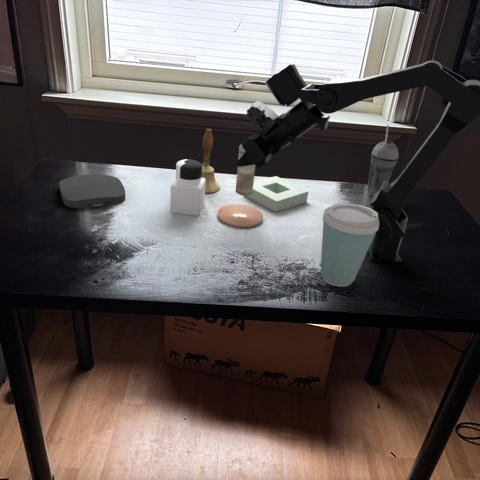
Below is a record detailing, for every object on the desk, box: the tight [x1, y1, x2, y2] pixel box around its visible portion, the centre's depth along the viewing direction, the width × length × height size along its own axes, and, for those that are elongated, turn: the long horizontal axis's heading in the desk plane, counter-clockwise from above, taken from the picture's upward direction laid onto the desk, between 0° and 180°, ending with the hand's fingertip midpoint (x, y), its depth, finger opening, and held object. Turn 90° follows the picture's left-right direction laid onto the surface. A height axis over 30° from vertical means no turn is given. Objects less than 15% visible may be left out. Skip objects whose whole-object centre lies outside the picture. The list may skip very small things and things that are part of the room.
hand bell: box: [202, 128, 221, 194], centre depth 124 cm, size 8×8×16 cm
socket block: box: [243, 175, 309, 213], centre depth 125 cm, size 12×12×3 cm
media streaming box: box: [58, 173, 126, 209], centre depth 117 cm, size 15×15×3 cm
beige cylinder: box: [235, 144, 256, 196], centre depth 109 cm, size 4×4×11 cm
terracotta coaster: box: [217, 203, 264, 229], centre depth 114 cm, size 11×11×1 cm
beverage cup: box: [366, 124, 399, 197], centre depth 129 cm, size 7×7×20 cm
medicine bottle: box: [169, 158, 206, 217], centre depth 112 cm, size 7×7×12 cm
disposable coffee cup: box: [320, 202, 379, 288], centre depth 91 cm, size 11×11×15 cm
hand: (241, 162), depth 108 cm, fingers closed on beige cylinder, 4 cm apart
